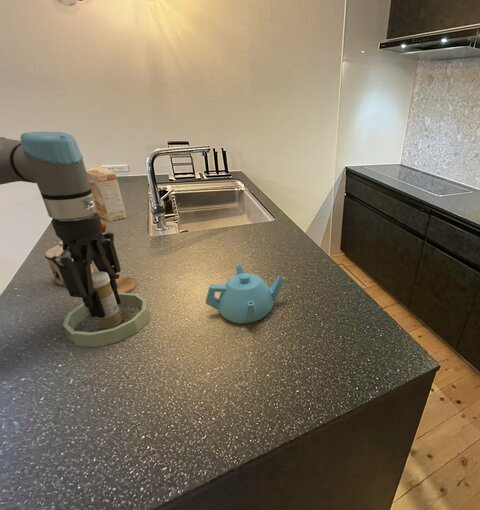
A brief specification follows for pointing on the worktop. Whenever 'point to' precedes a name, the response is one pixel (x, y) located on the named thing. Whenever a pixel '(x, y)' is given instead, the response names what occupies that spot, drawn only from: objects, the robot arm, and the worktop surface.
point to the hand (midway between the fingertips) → (106, 309)
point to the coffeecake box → (106, 193)
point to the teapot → (244, 297)
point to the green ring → (109, 334)
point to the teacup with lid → (48, 255)
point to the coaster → (125, 284)
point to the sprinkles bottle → (106, 300)
